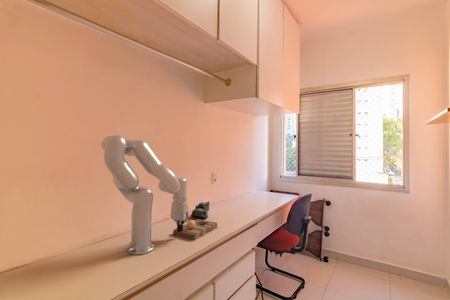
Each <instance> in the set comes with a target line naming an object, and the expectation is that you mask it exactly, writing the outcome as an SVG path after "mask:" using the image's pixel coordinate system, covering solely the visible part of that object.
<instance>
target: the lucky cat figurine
mask: <svg viewBox="0 0 450 300" xmlns="http://www.w3.org/2000/svg"><path fill="white" fill-rule="evenodd" d="M209 211H210V201H201V202H200V203H198V204H197V205H195V208H194V209H193V210H192V211H191V214H189V215H190V216H189V217H191V218H192V217H193V218H194V217H198V218H203V219H208V217H209Z"/></svg>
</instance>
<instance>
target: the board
mask: <svg viewBox="0 0 450 300" xmlns="http://www.w3.org/2000/svg"><path fill="white" fill-rule="evenodd" d="M194 221H195V224H196V225H195V227H194V228H193V229H190V228H188V226H187V223H186V224H185V223H184V224H183V231H181V232H177V227H176V228H174V229H173V230H172V231H173V233H172V234H173V236H176V237H177V236H178V237H180V238H183V239H184V238H185V239H189V240H193V241H196V240H198V239H199V238H201V237H203V236H205V235H206V234H209V233H210V232H212V231H214V230H215V229H217V228H218V222H214V221H210V220H205V219H199V218H197V219H194Z"/></svg>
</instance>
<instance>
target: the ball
mask: <svg viewBox="0 0 450 300" xmlns="http://www.w3.org/2000/svg"><path fill="white" fill-rule="evenodd" d="M186 224H187V226H188V228H190V229H193V228H194V227H195V225H196V224H195V220H193V219H189V220H188V222H186Z"/></svg>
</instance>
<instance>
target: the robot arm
mask: <svg viewBox="0 0 450 300" xmlns="http://www.w3.org/2000/svg"><path fill="white" fill-rule="evenodd" d="M101 148H102V150H103V151H104V154H103V159H104V163H105V167H106V168H107V170H108V171H109V172H110V174H111V175H112V176H113V177H112V181H113V184H114V186H115V187H116V188H117V190H118V191H119V193H121V194H122V196H123V197H124V198H125V199H126V200H127V201H128V202H130V203H131V204H132V209H131V219H130V220H131V222H130V223H131V224H130V225H131V239H130V240H131V241H130V242H129V244H128V245H127V246H125V247H122V250H121V251H122V252H123V253H125V252H127V253H128V254H130V255H138V256H139V255H144V254H149V253H151V252H152V251H154V250H155V244H154V243H153V242H152V210H153V202H154V195H153V191H152V190H151V189H149V188H148V187H146V186H143V185H140V178H139V176H138V174H137V173H136V171H134V169H133V167H131V166H130V164H129V163H128V161H127V159H126V158H125V156H128V157H135V159H136V160H137V162H139V164H140V165H141V166H142V167H143V169H144V170H145V171H146V172H147V173H148V174H150V175H152V176H153V177H155V178H156V179H158V180H159V182H158V186H157V187H158V188H159V190H160V191H161V192H164V193H168V194H172V195H173V196H172V202H171V206H170V207H171V208H170V218H171V219H172V220H173V221H174V222H175V225H176V228H177V232H181V231H183V225H185V223H186V224H187V223H188V221H189V217H190V216H189V215H190V214H189V213H190V212H189V211H190V210H189V203H188V201H187V200H188V197H187V196H188V195H187V194H188V193H187V190H188V187H187V183H188V181H187V178H185V177H177V176H176V175H175V174H174V173H173V172H172V171H171V170H170V169H169V168H168V167H167V166H166V165H165V164H164V163H163V162H162V161H160V159H159V158H158V156H157V155H156V154H155V153H154V151H153V150H152V148H151V147H150V146H149V144H148V143H147V142H146V141H144V140H142V139H134V140H133V139H126V138H125V137H123V136H122V135H117V134H115V135H108V136H106V137H104V138H103V139H102V141H101Z"/></svg>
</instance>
